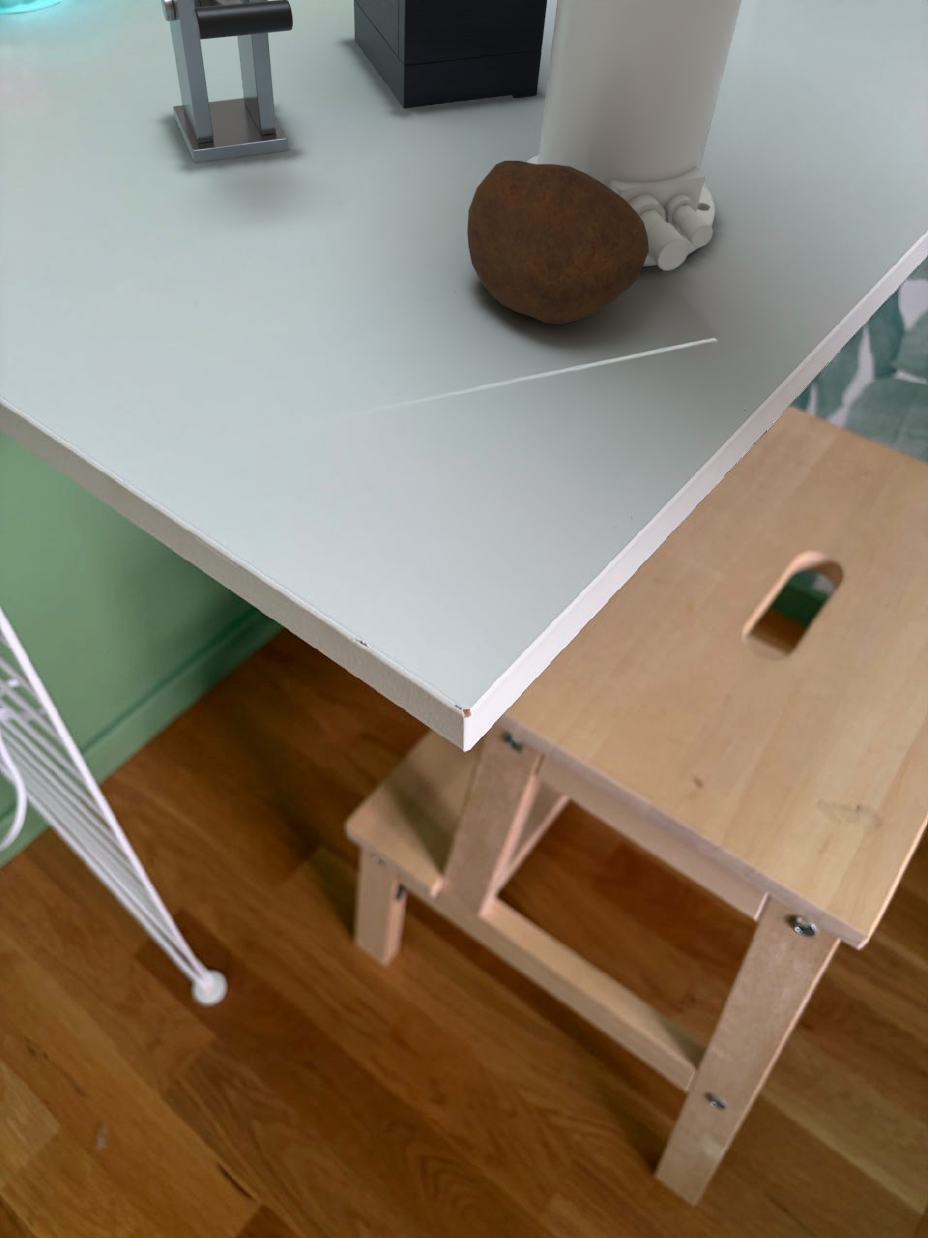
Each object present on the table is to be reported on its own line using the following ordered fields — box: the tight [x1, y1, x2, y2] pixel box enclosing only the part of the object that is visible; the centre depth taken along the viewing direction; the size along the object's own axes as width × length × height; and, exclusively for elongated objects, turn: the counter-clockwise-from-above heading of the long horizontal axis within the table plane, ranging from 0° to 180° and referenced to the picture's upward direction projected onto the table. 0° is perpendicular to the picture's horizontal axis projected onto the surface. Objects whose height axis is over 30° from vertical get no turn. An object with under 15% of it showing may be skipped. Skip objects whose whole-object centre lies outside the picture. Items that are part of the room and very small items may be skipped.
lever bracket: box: [160, 0, 289, 164], centre depth 63 cm, size 6×6×10 cm
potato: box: [466, 160, 649, 325], centre depth 54 cm, size 7×10×8 cm
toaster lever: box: [193, 0, 294, 40], centre depth 58 cm, size 10×5×2 cm, turn 21°
